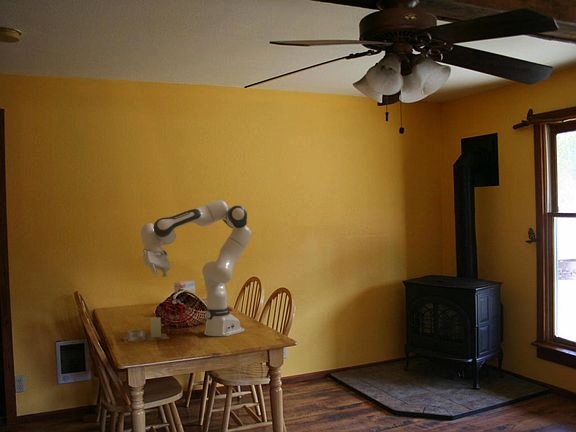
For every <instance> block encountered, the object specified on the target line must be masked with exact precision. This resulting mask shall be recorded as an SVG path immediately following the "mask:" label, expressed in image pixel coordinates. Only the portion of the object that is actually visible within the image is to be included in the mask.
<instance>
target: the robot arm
mask: <svg viewBox="0 0 576 432" xmlns="http://www.w3.org/2000/svg"><path fill="white" fill-rule="evenodd" d="M221 220H222V221H223V222H224V223H225V224H226V226H228V227H229V228H231V229H232V230H231V233H230V234H229V236H228V237H227V239H226V240H225V241H224V243H223V245H222V246H221V247H220V249H219V254H218V257H217V259H216V260H215V261H214V260H213V261H209V262H206V263H205V264H203V266H202V270H201V271H202V275H203V279H204V280H203V281H204V286H205V292H206V308H205V311H206V312H205V314H206V315H205V316H206V324H205V329H204V333H203V334H204V335H206V336H208V337H229V336H233V335H236V334H240V333H243V332H245V328H243V327H241V323H240V320H239V319H238V318H237V317H236V316H234V315H233V314H231V312H234V309H235V308H234V307H228V292H227V290H226V286H225V284H227V283H229V282H230V280H232V277H233V271H234V268H235V266H236V264H237V262H238V259H239V258H240V257H241V255H242V254H243V252H244V250H245V249H246V247H247V246H248V244H249V241H250V240H251V237H252V234H253V233H252V230H251V229H250V228H249V226H247V223H248V212H247V210H246V208H245V207H243V206H241V205H233V206H232V207H229V206H228V204H227V202H226V201H224V200H222V199H217V200H214V201H212V202H208V203H206V204H204V205H202V206H200V207H197V208H196V207H195V208H193V209H189V210H186V211H184V212H180V213H177V214H175V215H173V216H172V215H171V216H169V217H160V218H159V219H157V220H156V221H154V223H151V222H150V223H146V224H144V225H142V227H141V228H140V237H141V242H142V244H143V249H142V260H143V264H144V265H145V266H147V267H149V270H151V272H152V274H153V275H156V274H158V272H157V270H158V271H161V272H162V274H161V276H162V278H164V279H165V278H167V277H168V275H167V273H168V271H170V269H171V265H170V261H169V257H168V253H167V252H166V250H164V248H163V247H162V246H165V245H169V244H172V243H173V242H174V241H175V240H176V237H177V235H176V231H175V229H176V228H179V227H181V226H184V225H186V224H190V223H191V224H192V223H194V224H196V225H198V226H200V227H206V226H210V225H212V224H214V223H216V222H219V221H221Z"/></svg>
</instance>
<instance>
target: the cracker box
mask: <svg viewBox="0 0 576 432" xmlns="http://www.w3.org/2000/svg"><path fill="white" fill-rule="evenodd" d="M195 282H196V281H195V280H193V279H187V280H183V281H178V282H174V283H173V285H174V287H173V290H174V292H173V293H175V292H177V291H178V290H179V289H184V290H188V291H190V292H192V293H194V294H195V295H196V283H195Z"/></svg>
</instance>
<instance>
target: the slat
mask: <svg viewBox="0 0 576 432" xmlns="http://www.w3.org/2000/svg"><path fill="white" fill-rule="evenodd" d="M161 321H162V320H161V317H159V316H158V317H150V326H149V328H150V335H151V338H155V337H161V334H162V326H161V325H162V323H161Z"/></svg>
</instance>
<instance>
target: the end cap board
mask: <svg viewBox="0 0 576 432" xmlns="http://www.w3.org/2000/svg"><path fill="white" fill-rule="evenodd" d="M122 339H123V342H124V343H125V344H131V343H140V342H141V343H142V342H149V341H158V340H160V341H161V340H167V339H170V337H169V336H168V335H167V334H166V333H161V337H155V338H151V334H146V330H145V329H143V328H142V329H132V330H127V331H126V337H122Z"/></svg>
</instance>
